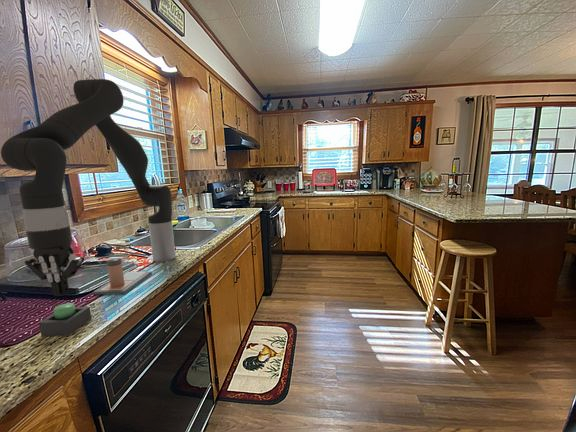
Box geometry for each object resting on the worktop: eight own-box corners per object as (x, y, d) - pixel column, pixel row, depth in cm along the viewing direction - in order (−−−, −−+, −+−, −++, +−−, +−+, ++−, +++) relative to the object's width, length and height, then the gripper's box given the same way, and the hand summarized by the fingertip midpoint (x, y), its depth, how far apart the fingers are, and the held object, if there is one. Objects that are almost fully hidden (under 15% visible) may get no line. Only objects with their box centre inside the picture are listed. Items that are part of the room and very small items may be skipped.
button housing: (66, 319, 66) (64, 307, 66) (91, 318, 66) (89, 306, 66) (41, 335, 60) (38, 322, 59) (69, 335, 60) (66, 322, 59)
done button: (64, 310, 64) (63, 302, 64) (79, 309, 64) (78, 302, 64) (50, 319, 60) (48, 311, 60) (66, 318, 60) (64, 311, 60)
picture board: (126, 274, 95) (125, 271, 95) (151, 273, 95) (151, 271, 95) (93, 294, 80) (93, 291, 79) (124, 294, 80) (124, 290, 79)
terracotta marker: (110, 284, 84) (106, 259, 83) (124, 281, 86) (121, 257, 85) (110, 289, 81) (106, 262, 79) (124, 285, 83) (121, 260, 81)
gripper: (89, 222, 62) (99, 287, 65) (36, 223, 62) (49, 287, 65) (62, 229, 55) (75, 302, 58) (2, 230, 55) (18, 302, 58)
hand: (61, 294), depth 61 cm, fingers closed
